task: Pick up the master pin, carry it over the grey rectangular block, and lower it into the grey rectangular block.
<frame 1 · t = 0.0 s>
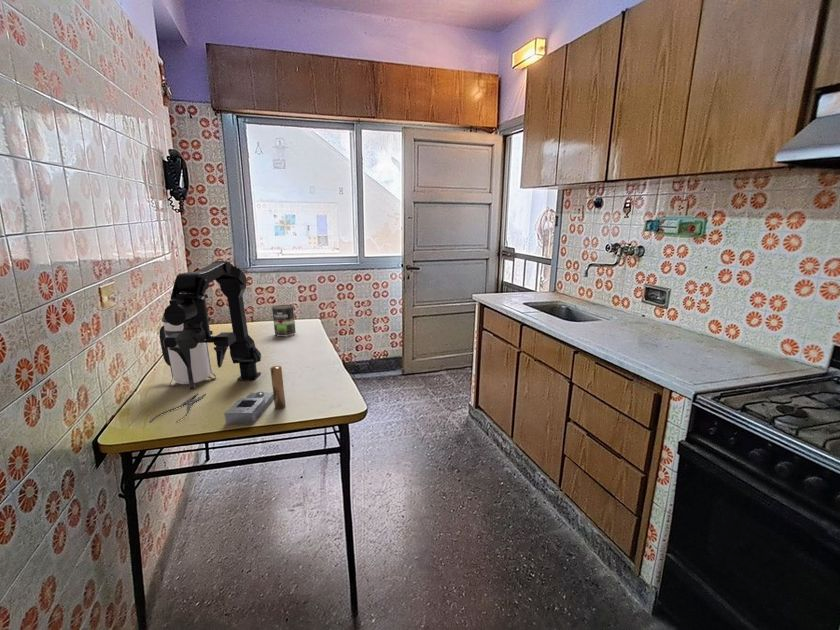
hand: (204, 367, 125), 15 cm above the table, tool pointing down, fingers open, 9 cm apart
pliers: (179, 410, 132), on the table
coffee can: (285, 334, 211), on the table
grey rectangular block: (248, 414, 127), on the table
master pin: (280, 406, 131), on the table
coffee press: (190, 382, 152), on the table
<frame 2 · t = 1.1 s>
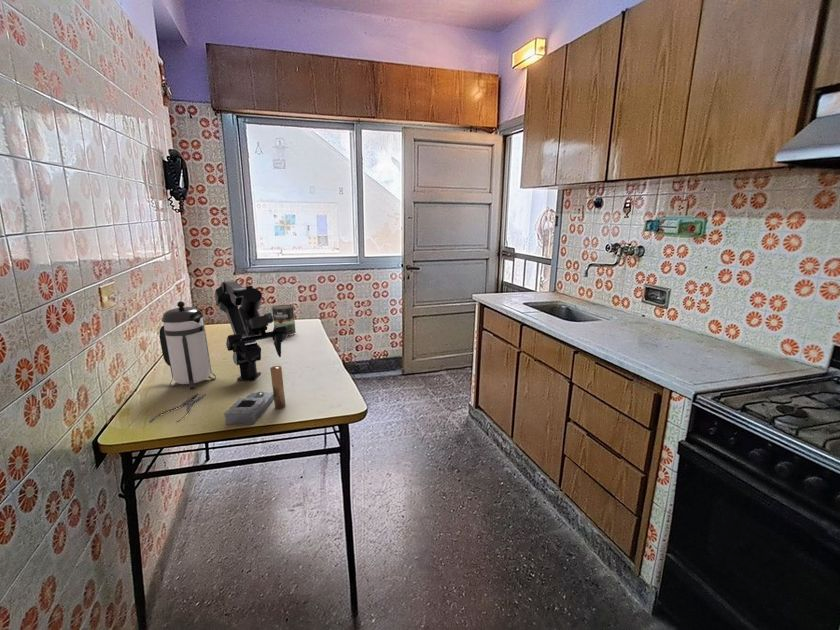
hand: (265, 359, 134), 13 cm above the table, tool tilted 45°, fingers open, 9 cm apart
nothing on the table moved.
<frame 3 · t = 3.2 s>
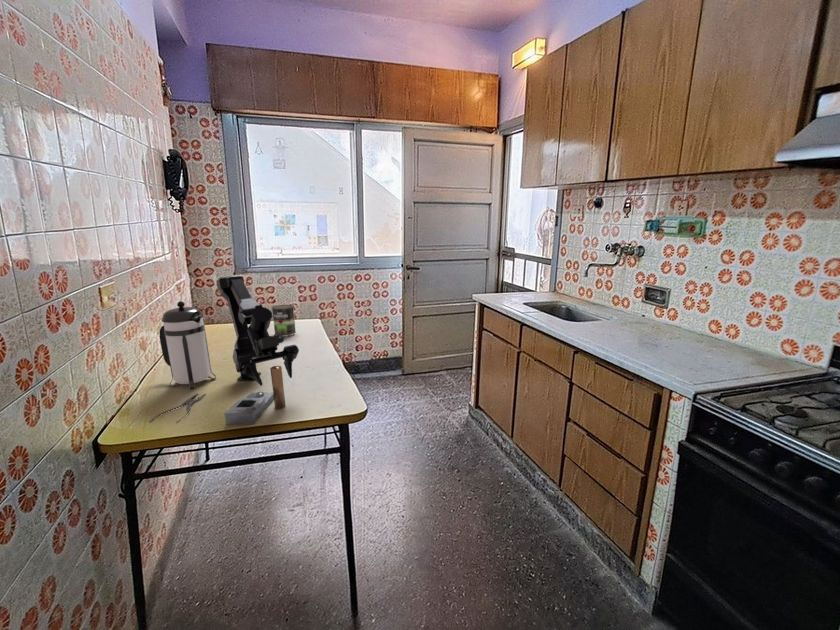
hand: (276, 381, 130), 8 cm above the table, tool tilted 45°, fingers open, 9 cm apart
nothing on the table moved.
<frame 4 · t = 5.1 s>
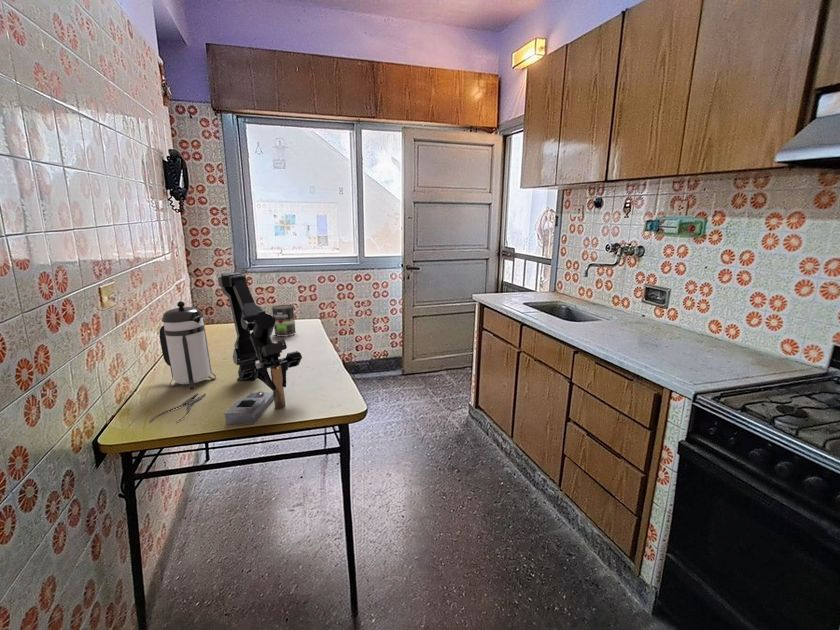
hand: (279, 388, 129), 7 cm above the table, tool tilted 45°, fingers closed on master pin, 3 cm apart
master pin: (280, 406, 131), on the table, touching gripper
everything else where it was.
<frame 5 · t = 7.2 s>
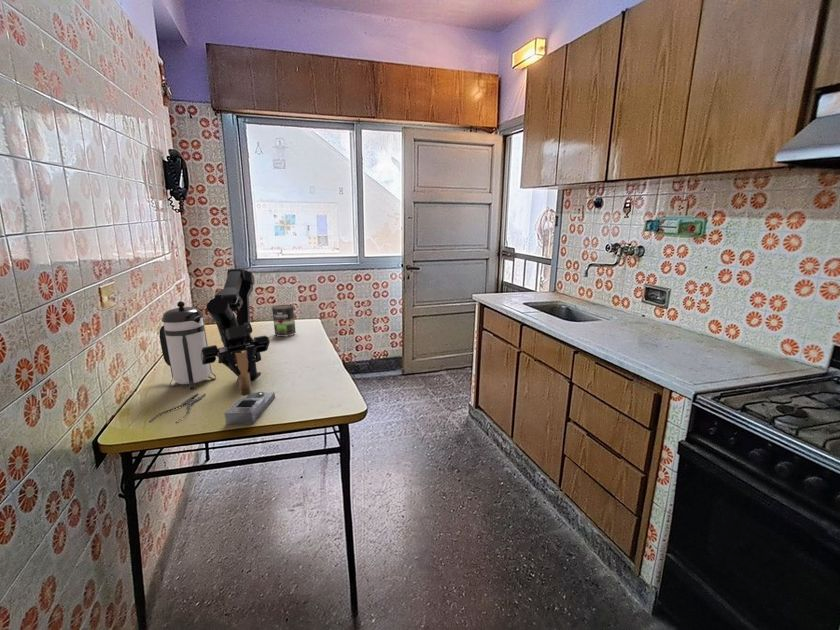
hand: (244, 373, 122), 13 cm above the table, tool tilted 45°, fingers closed on master pin, 3 cm apart
master pin: (246, 393, 125), point 7 cm above the table, touching gripper
everything else where it was.
when the fingers open (8 cm above the table, at t = 9.7 s): master pin drops 1 cm, resting in grey rectangular block.
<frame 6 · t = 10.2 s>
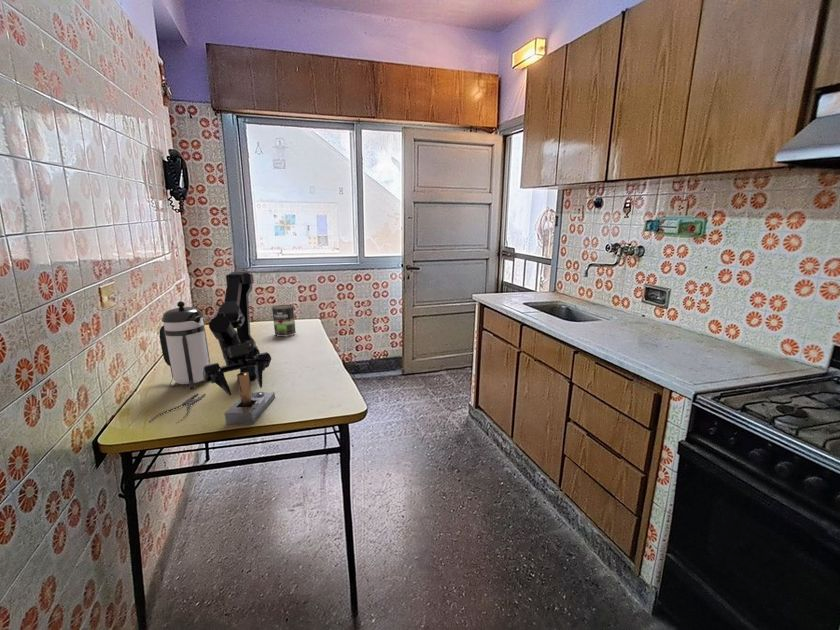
hand: (246, 391, 124), 8 cm above the table, tool tilted 45°, fingers open, 8 cm apart
master pin: (248, 414, 127), resting in grey rectangular block
everything else where it was.
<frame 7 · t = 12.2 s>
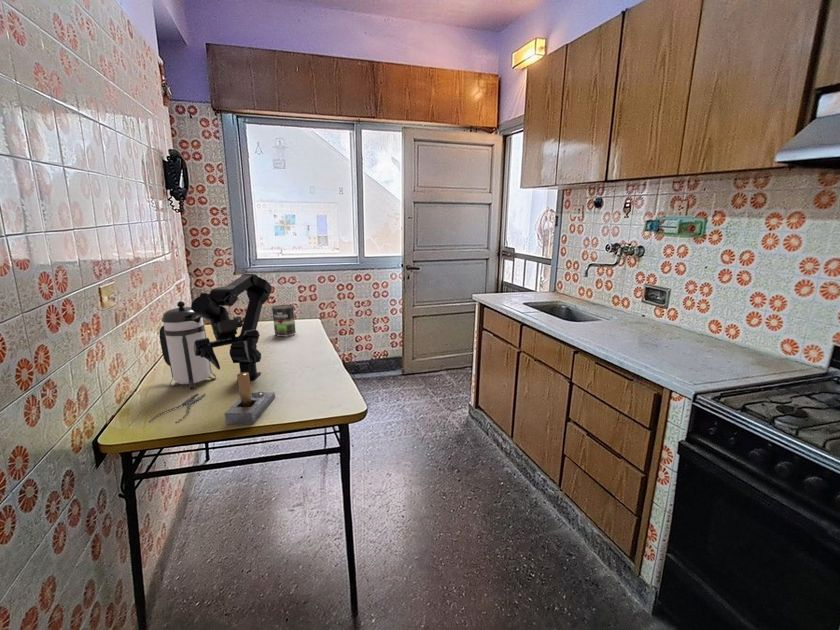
hand: (235, 365, 130), 14 cm above the table, tool tilted 45°, fingers open, 9 cm apart
nothing on the table moved.
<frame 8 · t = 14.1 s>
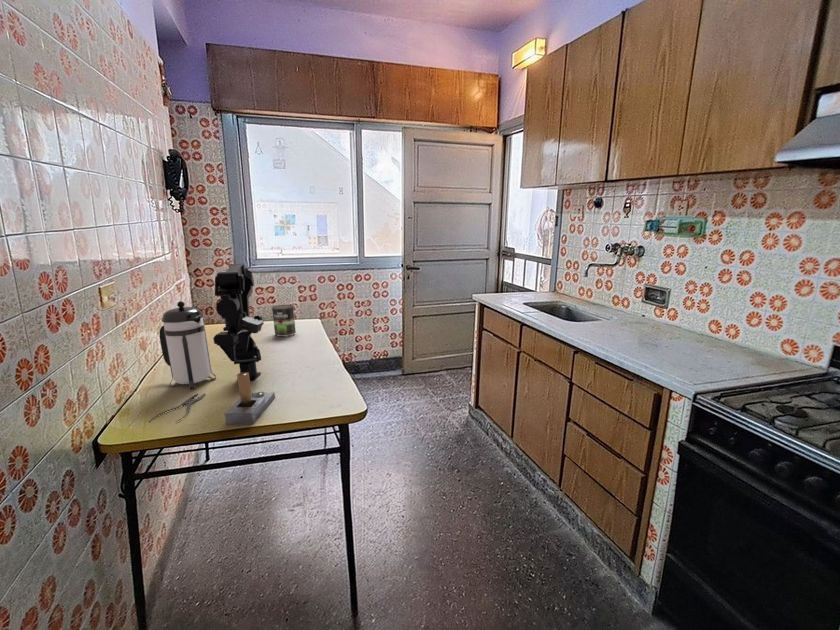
hand: (239, 356, 139), 13 cm above the table, tool pointing down, fingers open, 9 cm apart
nothing on the table moved.
at the end: master pin 0.1 cm off-centre on the grey rectangular block, point 0.0 cm above the grey rectangular block's base; master pin tilted 0°; the gripper is holding nothing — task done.
